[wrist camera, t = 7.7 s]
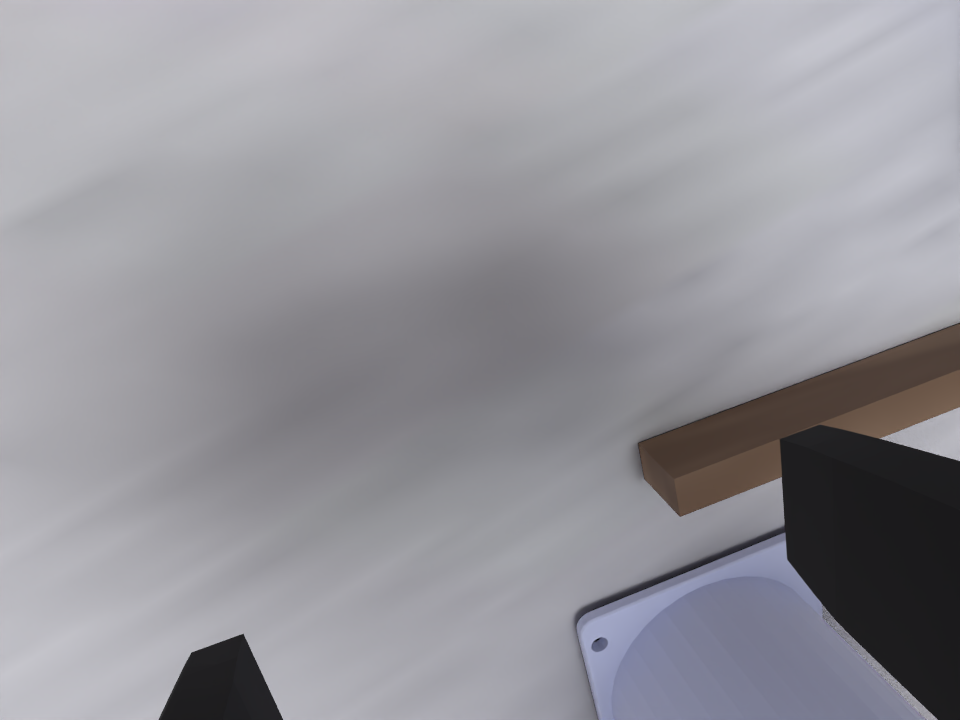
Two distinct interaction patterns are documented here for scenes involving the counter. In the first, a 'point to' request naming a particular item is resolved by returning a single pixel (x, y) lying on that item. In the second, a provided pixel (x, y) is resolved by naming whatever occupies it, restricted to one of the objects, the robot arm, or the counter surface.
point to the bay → (803, 420)
